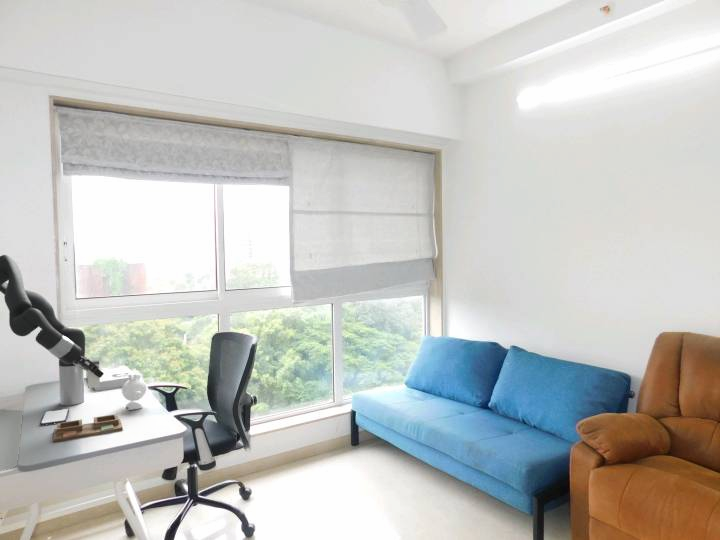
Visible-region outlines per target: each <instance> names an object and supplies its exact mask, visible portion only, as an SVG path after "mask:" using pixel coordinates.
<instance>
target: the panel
mask: <svg viewBox="0 0 720 540" xmlns="http://www.w3.org/2000/svg"><path fill="white" fill-rule="evenodd" d="M119 431H120V432H121V431H123V425H122V421H121V418H119V417H118V414H117V413H115V414H106V415H101V416H95V417H93V422H90V423H89V422H88V423H83V419H82V418H81V419H77V420H76V419H75V420H70V421H66V422H62V423H57V424H56V428H54V429H53V437H52V440H53V443H57V442H63V441H70V440H74V439H75V440H76V439H80V438H86V437H92V435H93V436H97V435H103V434H108V433H109V432H110V433H115V432H119ZM110 433H109V434H110Z"/></svg>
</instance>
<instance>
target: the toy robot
mask: <svg viewBox="0 0 720 540" xmlns="http://www.w3.org/2000/svg"><path fill="white" fill-rule="evenodd" d="M141 376H142V375H141V374H140V373H134V374H132V376H131V374H128V377H129V379H130V380H128V381H127V382H126V383H125V384H124V385H123V387H121V390H120V391H121V393H122V396H123V398H125V400H126V401H127V400H128V401H129V402H128V403H126V405H125V408H128V411H133V410H138V409H142V408H143V407H144V406H143V405H142V404H141V403H140V402H139V400H140V399H142V398H143V397H144V396H145V395H146V391H147V384H146V382H145V381H143V380H142V379H141Z"/></svg>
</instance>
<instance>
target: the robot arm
mask: <svg viewBox="0 0 720 540" xmlns="http://www.w3.org/2000/svg"><path fill="white" fill-rule="evenodd" d="M22 276H23V275H22V273H21V270H20V267H19V265H18V263H17V262H16V261H15V260H14V259H13V258H12V257H11V256H9V255H7V254H1V255H0V292H1V293H2V295H4V302H5V305H6V307H7V309H8V310H9V311H8V312H9V314H8V315H9V318H8V320H9V321H8V322H9V327H10V330H11V332H12V333H13V334H15V335H16V336H18V337H26V336H28V335H30V334H31V333H32V332H34V331H35V330H36V329H37V328H40V331H39V332H38V334H36V336H35V342H36V343H37V344H39V345H40V346H41V347H43V348H45V350H47V351H48V352H50V354H51V355H53V356H54V357H55V358H57V359H58V374H59V375H58V376H59V404H60V406H67V407H68V406H75V405H79V404H82V403H84V401H85V389H84V388H85V384H84V382H85V381H84V379H85V378H84V371H85V372H86V371H88V370H89V371H90V372H91V373H94V374H95V375H96V376H98V377H99V378H101V377H102V375H103V374H104V373H103V372H102V371H100V370H99V369H100V368H99V369H98V366H96V365H95V364H93V363H92V362H91V361H90V359H88V358H87V357H86V356H85V355H86V336H85V333H84V331H83V330H81V329H79V328H71V327H67V326H65V325H64V324H63V323H62V322H61V321H59V320H58V318H57V317H56V314H55V310H54V307H53V306H52V305H51V303H50V302H49V301H48V300H47V299H46V298H45V297H44V296H43V295H42V294H40V293H38V292H35V291H31V290H28V289H25V287H24V281H23V277H22ZM7 282H8V283H7ZM92 367H93V368H92ZM91 368H92V369H91Z"/></svg>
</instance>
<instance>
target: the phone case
mask: <svg viewBox="0 0 720 540" xmlns="http://www.w3.org/2000/svg"><path fill="white" fill-rule="evenodd" d="M69 414H70V409H69V408H63V409H62V408H61V409H55V410H48V411H45V412H44V413H43V416H42V418H41V421H40V423H39V424H40V425H46V424H53V425H55V424H54V423H62V422H67V421H66V420H68V418H69ZM46 426H47V425H46Z"/></svg>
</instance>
